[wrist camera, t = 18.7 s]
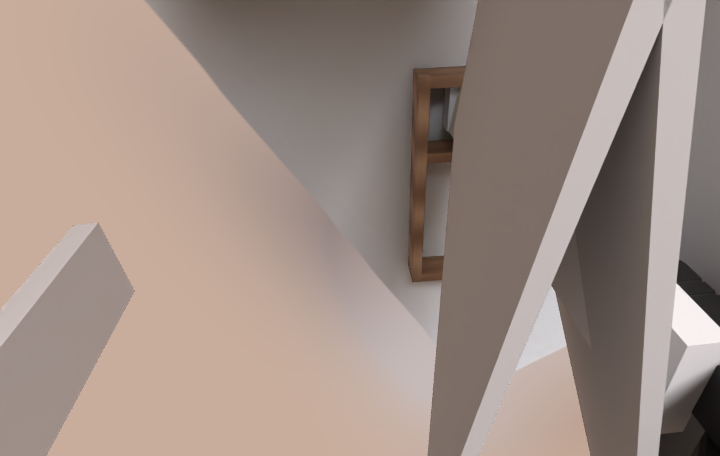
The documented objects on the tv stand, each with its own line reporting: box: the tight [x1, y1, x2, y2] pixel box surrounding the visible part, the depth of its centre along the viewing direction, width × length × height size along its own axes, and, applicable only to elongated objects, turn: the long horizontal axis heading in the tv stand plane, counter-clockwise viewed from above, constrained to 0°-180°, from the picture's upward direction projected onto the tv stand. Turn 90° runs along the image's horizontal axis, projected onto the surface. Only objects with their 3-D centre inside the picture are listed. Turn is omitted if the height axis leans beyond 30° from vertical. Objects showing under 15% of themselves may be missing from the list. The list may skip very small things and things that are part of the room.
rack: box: [408, 66, 466, 282], centre depth 57 cm, size 28×21×4 cm
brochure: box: [428, 0, 720, 456], centre depth 19 cm, size 14×6×30 cm, turn 177°
